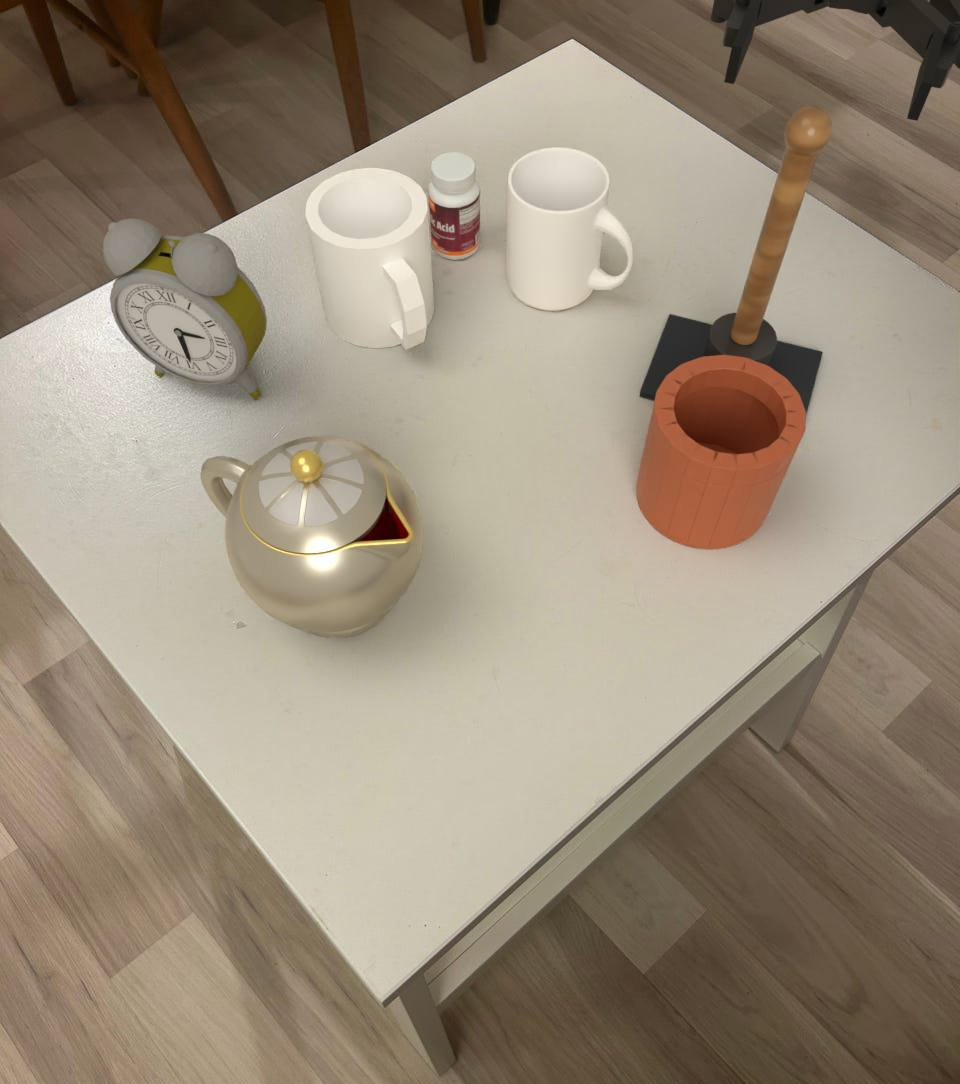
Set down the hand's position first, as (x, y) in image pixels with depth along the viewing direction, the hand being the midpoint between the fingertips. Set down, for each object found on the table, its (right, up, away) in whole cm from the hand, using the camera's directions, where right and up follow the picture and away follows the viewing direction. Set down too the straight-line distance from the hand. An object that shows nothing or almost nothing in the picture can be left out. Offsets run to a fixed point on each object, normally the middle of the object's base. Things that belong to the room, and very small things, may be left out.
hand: (824, 83), depth 68 cm
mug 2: (-17, -8, +20) cm, 27 cm away
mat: (-3, -17, +14) cm, 23 cm away
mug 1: (-34, -11, +18) cm, 40 cm away
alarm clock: (-49, -17, +15) cm, 54 cm away
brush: (-3, -17, +14) cm, 22 cm away
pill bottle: (-28, -2, +23) cm, 36 cm away
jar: (-7, -29, +8) cm, 31 cm away
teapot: (-37, -36, +5) cm, 52 cm away
